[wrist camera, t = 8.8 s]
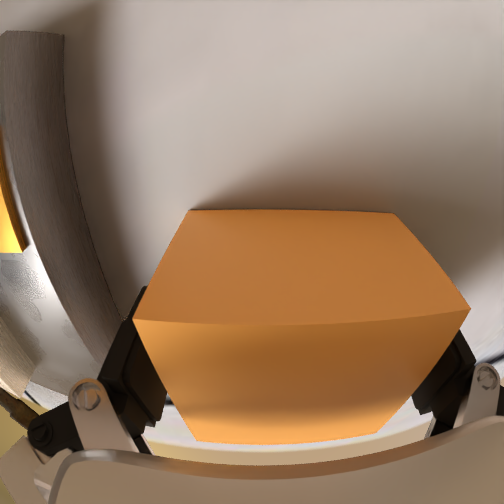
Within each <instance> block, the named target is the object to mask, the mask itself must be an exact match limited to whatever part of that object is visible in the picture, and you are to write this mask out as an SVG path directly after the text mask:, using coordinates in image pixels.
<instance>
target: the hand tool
mask: <svg viewBox="0 0 504 504" xmlns="http://www.w3.org/2000/svg"><path fill="white" fill-rule="evenodd" d="M0 405H1V406H3V407H4V408H5V409H6V410H7V411H8V412H9V413H10V417H11V418H12V419H14V420H15V421H16V422H18V423H19V424H20V425H21V426H23V427H24V428H25V429H27V430H28V427H29V424H30V422H31V421H32V420H33V419H34V418H36V417H37V416H39V415H38V414H37V413H36V412H35V411H34V410H32V409H31V408H30V407H29V406H28V405H26V404H25V403H24V402H23V401H22V400H20V399H16V398H14V397H12V396H11V395H10V394H9V393H7V392H6V391H5V390H4V389H3V388H2V387H0Z"/></svg>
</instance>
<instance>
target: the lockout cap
mask: <svg viewBox="0 0 504 504" xmlns="http://www.w3.org/2000/svg"><path fill="white" fill-rule="evenodd" d="M470 310H471V308H470V306H469V305H468V303H467V302H466V300H465V299H464V298H463V296H462V295H461V293H460V292H459V291H458V289H457V288H456V287H455V285H454V284H453V282H452V281H451V280H450V278H449V277H448V276H447V275H446V273H445V272H444V271H443V269H442V268H441V267H440V266H439V264H438V263H437V262H436V261H435V259H434V258H433V257H432V256H431V255H430V253H429V252H428V251H427V250H426V249H425V247H424V246H423V245H422V244H421V243H420V242H419V240H418V239H417V238H416V237H415V236H414V235H413V234H412V232H411V231H410V230H409V229H408V228H407V227H406V226H405V225H404V224H403V223H402V222H401V220H400V219H399V218H398V217H397V216H396V215H395V214H394V213H379V212H358V211H330V210H273V209H248V210H191V211H188V212H187V214H186V216H185V217H184V219H183V221H182V223H181V224H180V226H179V228H178V230H177V232H176V233H175V235H174V237H173V239H172V241H171V242H170V244H169V246H168V248H167V250H166V252H165V254H164V256H163V257H162V259H161V261H160V263H159V265H158V267H157V269H156V271H155V273H154V275H153V277H152V279H151V281H150V283H149V285H148V287H147V289H146V291H145V293H144V295H143V297H142V299H141V301H140V303H139V305H138V308H137V310H136V312H135V314H134V316H133V318H132V319H133V322H134V324H135V326H136V329H137V331H138V333H139V336H140V338H141V340H142V342H143V345H144V347H145V349H146V351H147V353H148V355H149V357H150V359H151V361H152V363H153V366H154V368H155V370H156V371H157V373H158V375H159V377H160V379H161V381H162V383H163V385H164V387H165V389H166V390H167V392H168V394H169V396H170V398H171V399H172V401H173V403H174V405H175V406H176V408H177V410H178V412H179V413H180V415H181V417H182V418H183V420H184V422H185V423H186V425H187V426H188V428H189V430H190V431H191V433H192V434H193V436H194V437H195V439H196V440H197V441H203V442H213V443H226V444H250V445H275V444H299V443H312V442H322V441H331V440H338V439H345V438H352V437H358V436H363V435H369V434H374V433H376V432H377V431H378V430H379V429H380V428H381V427H382V426H383V425H384V424H385V423H386V422H387V421H388V420H389V419H390V418H391V417H392V416H393V415H394V414H395V413H396V412H397V411H398V410H399V409H400V408H401V406H402V405H403V404H404V403H405V402H406V401H407V400H408V399H409V397H410V396H411V395H412V394H413V393H414V391H415V390H416V389H417V388H418V387H419V385H420V384H421V383H422V382H423V380H424V379H425V378H426V377H427V375H428V374H429V373H430V371H431V370H432V369H433V367H434V366H435V365H436V363H437V362H438V360H439V359H440V358H441V356H442V355H443V353H444V352H445V350H446V349H447V347H448V346H449V344H450V343H451V341H452V340H453V338H454V337H455V335H456V333H457V332H458V330H459V329H460V327H461V325H462V324H463V322H464V320H465V318H466V317H467V315H468V313H469V311H470Z"/></svg>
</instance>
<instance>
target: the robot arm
mask: <svg viewBox="0 0 504 504" xmlns="http://www.w3.org/2000/svg"><path fill="white" fill-rule="evenodd" d="M147 287H148V286H144V287H143V288H142V289H141V291H140V293H139V295H138V297H137V299H136V301H135V303H134V305H133V307H132V309H131V311H130V314H129V316H128V318H127V320H124V321H123V322H122V324H121V325H120V328H119V330H118V332H117V334H116V336H115V338H114V340H113V343H112V345H111V347H110V349H109V352H108V354H107V356H106V358H105V361H104V363H103V365H102V368H101V370H100V372H99V375H98V377H97V380H95V379H92V378H86V379H82V380H80V381H78V382H77V383H75V385H74V386H73V387H72V388H71V390H70V392H69V396H68V402H66V403H64V404H62V405H60V406H58V407H56V408H54V409H52V410H50V411H48V412H45V413H43V414H41V415H39V416H37V417H36V418H34V419H33V420H32V421H31V422H30V424H29V427H28V432H27V434H28V436H27V437H25V436H22V437H21V438H20V439H19V440H18V441H17V442H16V443H15V444H14V445H13V446H12V447H11V448H10V449H9V450H8V451H7V452H6V453H5V454H4V455H3V456H2V457H1V458H0V477H1V479H2V481H3V483H4V485H5V486H6V488H7V490H8V491H9V493H10V495H11V496H12V498H13V499H14V501H15V503H16V504H504V387H503V386H501V385H500V377H499V374H498V372H497V370H496V369H495V368H494V367H493V366H492V365H490V364H487V363H481V364H479V365H477V366H476V368H475V366H474V364H475V363H476V359H475V357H474V355H473V353H472V351H471V349H470V347H469V345H468V343H467V342H466V340H465V338H464V336H463V335H462V333H461V331H460V329H459V330H458V332H457V333H456V335H455V337H454V338H453V340H452V341H451V343H450V344H449V346H448V347H447V349H446V350H445V352H444V353H443V355H442V356H441V358H440V359H439V360H438V362H437V363H436V365H435V366H434V367H433V369H432V370H431V371H430V373H429V374H428V375H427V377H426V378H425V379H424V380H423V382H422V383H421V384H420V385H419V387H418V388H417V389H416V390H415V391H414V393H413V394H412V395H411V396H412V399H413V402H414V406H415V408H416V409H418V410H419V413H420V415H422V414H426V413H429V412H431V411H432V412H433V418H432V420H431V423H430V426H429V428H428V431H427V433H426V435H425V438H424V440H421V441H418V442H414V443H411V444H408V445H405V446H401V447H397V448H394V449H390V450H386V451H382V452H377V453H373V454H368V455H363V456H359V457H353V458H348V459H341V460H334V461H327V462H318V463H308V464H295V465H276V466H275V465H272V466H248V465H247V466H246V465H226V464H213V463H203V462H193V461H186V460H179V459H172V458H166V457H160V456H156V455H155V454H154V452H153V450H152V449H151V447H150V446H149V444H148V442H147V440H146V439H145V437H144V435H143V433H144V430H145V426H150V427H155V424H156V421H160V419H161V417H162V412H163V408H164V404H165V399H166V395H167V390H166V389H165V387H164V385H163V383H162V381H161V379H160V377H159V375H158V373H157V371H156V370H155V368H154V366H153V363H152V361H151V359H150V357H149V355H148V353H147V351H146V349H145V347H144V345H143V342H142V340H141V338H140V336H139V333H138V331H137V329H136V326H135V324H134V322H133V319H132V318H133V316H134V314H135V312H136V310H137V308H138V305H139V303H140V301H141V299H142V297H143V295H144V293H145V291H146V289H147Z"/></svg>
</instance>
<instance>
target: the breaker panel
mask: <svg viewBox="0 0 504 504" xmlns="http://www.w3.org/2000/svg"><path fill="white" fill-rule="evenodd" d="M63 42H64V35H60V34H52V33H43V32H30V31H6V32H5V33H3V34H2V35H1V36H0V387H2V388H3V389H5V390H6V391H8V392H10V393H12V394H13V395H15V396H17V397H19V398H21V397H22V395H23V393H24V391H25V388H26V386H27V384H28V382H29V380H30V381H32V382H34V383H36V384H39V385H41V386H43V387H46V388H48V389H51V390H53V391H56V392H58V393H61V394H64V395H67V396H69V392H70V390H71V388H72V387H73V386H74V385H75V383H77V382H78V381H80V380H82V379H86V378H92V379H95V380H97V377H98V375H99V372H100V370H101V368H102V365H103V363H104V361H105V358H106V356H107V354H108V352H109V349H110V347H111V345H112V343H113V340H114V338H115V336H116V334H117V332H118V330H119V328H120V325H121V324H122V320H121V318H120V316H119V313H118V311H117V309H116V306H115V304H114V301H113V299H112V297H111V294H110V292H109V289H108V286H107V284H106V281H105V279H104V276H103V273H102V270H101V268H100V265H99V262H98V259H97V256H96V253H95V250H94V247H93V244H92V241H91V237H90V234H89V231H88V227H87V224H86V220H85V216H84V213H83V209H82V205H81V201H80V197H79V192H78V188H77V184H76V179H75V174H74V169H73V163H72V158H71V152H70V146H69V139H68V131H67V123H66V113H65V102H64V85H63Z"/></svg>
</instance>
